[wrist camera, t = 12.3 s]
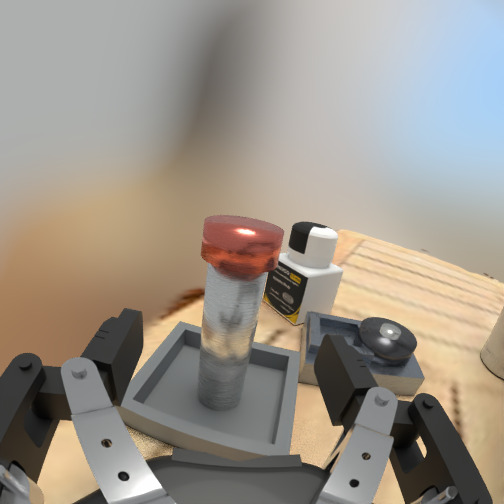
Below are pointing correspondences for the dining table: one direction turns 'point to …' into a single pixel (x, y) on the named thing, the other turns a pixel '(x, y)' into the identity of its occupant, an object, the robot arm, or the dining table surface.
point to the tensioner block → (365, 349)
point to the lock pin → (232, 302)
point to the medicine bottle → (305, 274)
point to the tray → (207, 420)
